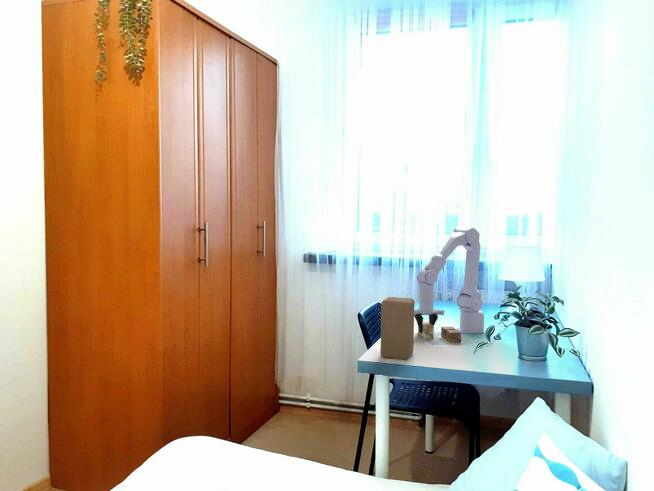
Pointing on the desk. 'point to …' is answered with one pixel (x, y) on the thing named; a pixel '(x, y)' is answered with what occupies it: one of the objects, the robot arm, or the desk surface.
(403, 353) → the wooden block
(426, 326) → the tan rectangular block
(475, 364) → the desk surface
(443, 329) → the brown wooden cube
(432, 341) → the board
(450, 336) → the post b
